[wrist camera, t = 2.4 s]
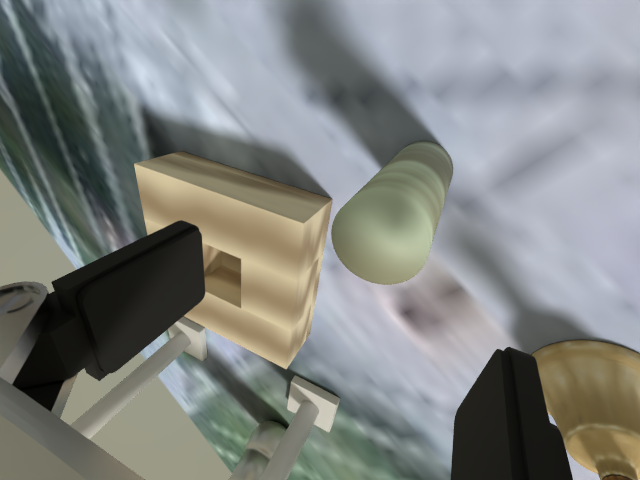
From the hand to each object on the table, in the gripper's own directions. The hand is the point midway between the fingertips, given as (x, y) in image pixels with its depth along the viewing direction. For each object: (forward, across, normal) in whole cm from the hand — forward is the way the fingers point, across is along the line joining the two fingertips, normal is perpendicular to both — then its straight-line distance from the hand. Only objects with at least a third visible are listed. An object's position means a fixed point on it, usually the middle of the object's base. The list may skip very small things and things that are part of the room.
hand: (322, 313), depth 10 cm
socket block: (+16, +13, +11) cm, 23 cm away
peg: (+15, -1, -1) cm, 15 cm away
